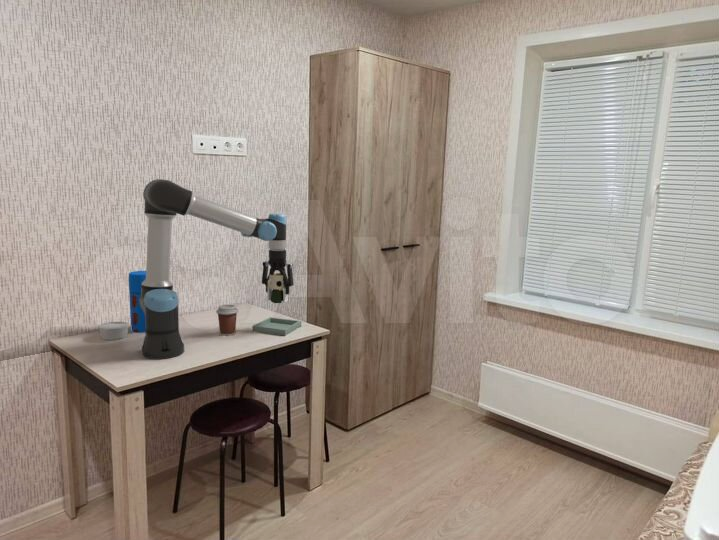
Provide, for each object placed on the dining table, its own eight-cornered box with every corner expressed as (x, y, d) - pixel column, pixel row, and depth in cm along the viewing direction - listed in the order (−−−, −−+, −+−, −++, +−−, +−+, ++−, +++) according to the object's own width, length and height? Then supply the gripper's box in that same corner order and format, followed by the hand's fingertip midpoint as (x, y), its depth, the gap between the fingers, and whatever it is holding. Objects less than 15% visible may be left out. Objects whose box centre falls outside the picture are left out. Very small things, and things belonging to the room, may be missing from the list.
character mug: (273, 306, 222) (273, 276, 220) (262, 303, 226) (262, 274, 224) (292, 302, 230) (292, 273, 228) (281, 299, 235) (281, 271, 232)
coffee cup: (217, 337, 215) (216, 309, 213) (216, 331, 224) (215, 304, 222) (239, 335, 218) (239, 308, 216) (237, 329, 227) (237, 303, 225)
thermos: (125, 331, 221) (122, 273, 216) (142, 324, 231) (140, 269, 226) (146, 333, 217) (144, 275, 213) (163, 327, 228) (161, 271, 223)
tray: (285, 335, 220) (285, 330, 220) (252, 331, 225) (252, 325, 225) (301, 326, 235) (301, 320, 235) (270, 322, 240) (270, 317, 240)
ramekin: (130, 332, 219) (129, 320, 218) (128, 340, 209) (127, 327, 208) (101, 334, 215) (100, 322, 214) (97, 342, 205) (96, 329, 204)
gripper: (302, 249, 224) (301, 301, 228) (261, 247, 231) (261, 296, 235) (294, 251, 217) (294, 304, 221) (252, 248, 224) (253, 300, 228)
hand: (277, 300), depth 228 cm, fingers closed on character mug, 7 cm apart
